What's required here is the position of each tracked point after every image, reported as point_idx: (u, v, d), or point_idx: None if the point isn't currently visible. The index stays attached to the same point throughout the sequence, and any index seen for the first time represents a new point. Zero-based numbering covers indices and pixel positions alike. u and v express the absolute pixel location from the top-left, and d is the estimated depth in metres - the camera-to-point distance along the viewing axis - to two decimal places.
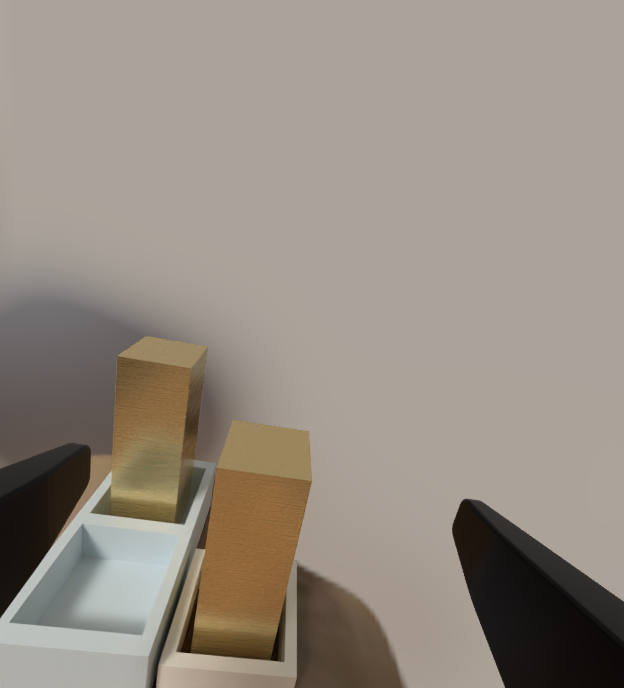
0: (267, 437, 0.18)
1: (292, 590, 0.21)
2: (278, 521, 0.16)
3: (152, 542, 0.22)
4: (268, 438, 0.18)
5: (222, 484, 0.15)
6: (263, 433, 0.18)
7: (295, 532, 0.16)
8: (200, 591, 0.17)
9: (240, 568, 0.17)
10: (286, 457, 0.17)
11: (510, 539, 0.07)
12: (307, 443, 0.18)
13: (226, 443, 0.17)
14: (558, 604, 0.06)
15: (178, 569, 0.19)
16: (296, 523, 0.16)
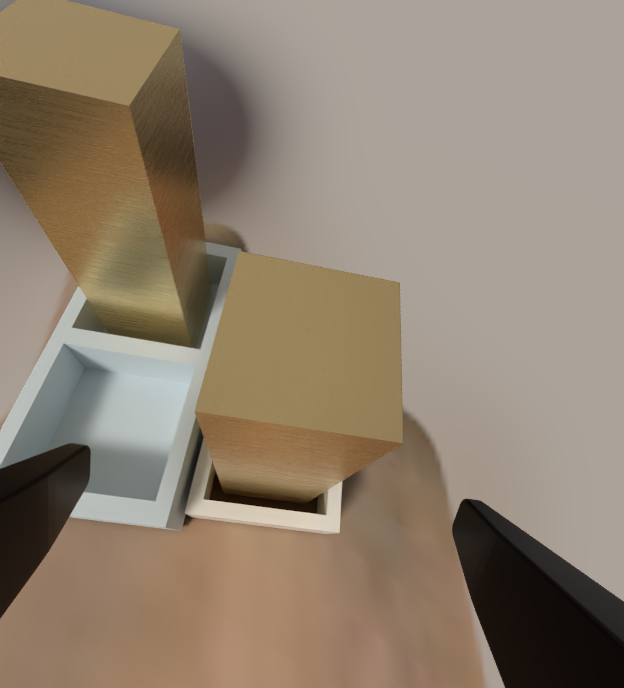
0: (311, 305, 0.08)
1: None
2: (326, 459, 0.09)
3: (162, 366, 0.17)
4: (313, 308, 0.08)
5: (214, 425, 0.07)
6: (303, 292, 0.08)
7: (354, 467, 0.09)
8: (218, 473, 0.12)
9: (268, 471, 0.11)
10: (349, 369, 0.08)
11: (510, 539, 0.07)
12: (396, 320, 0.08)
13: (220, 328, 0.08)
14: (558, 604, 0.06)
15: (195, 414, 0.15)
16: (358, 464, 0.09)
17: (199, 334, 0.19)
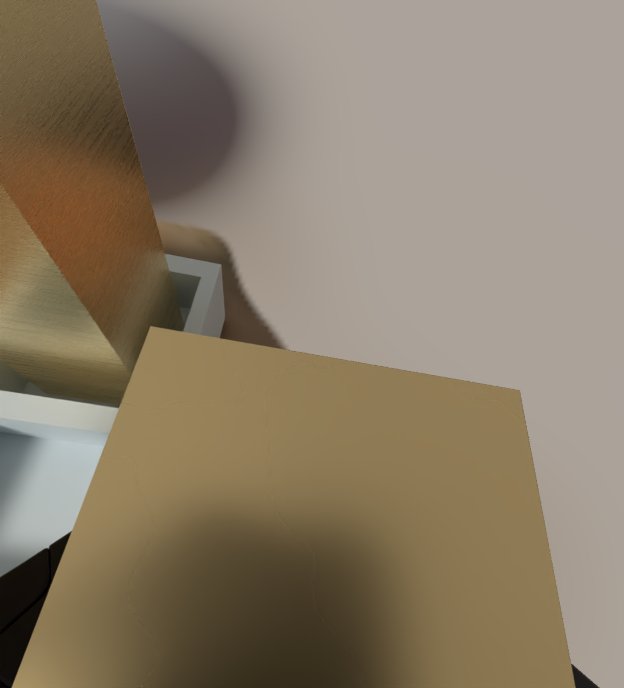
0: (324, 473, 0.03)
1: None
2: None
3: (103, 437, 0.12)
4: (329, 483, 0.03)
5: None
6: (303, 435, 0.03)
7: None
8: None
9: None
10: None
11: None
12: (530, 501, 0.03)
13: (60, 588, 0.03)
14: None
15: None
16: None
17: None
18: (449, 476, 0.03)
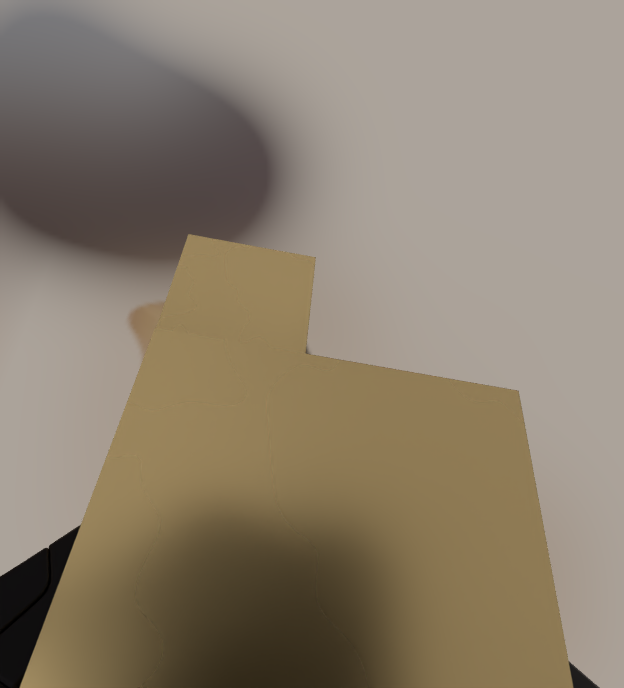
0: (326, 472, 0.03)
1: None
2: None
3: None
4: (331, 482, 0.03)
5: None
6: (305, 434, 0.03)
7: None
8: None
9: None
10: None
11: None
12: (528, 500, 0.04)
13: (68, 584, 0.03)
14: None
15: None
16: None
17: None
18: (449, 475, 0.03)
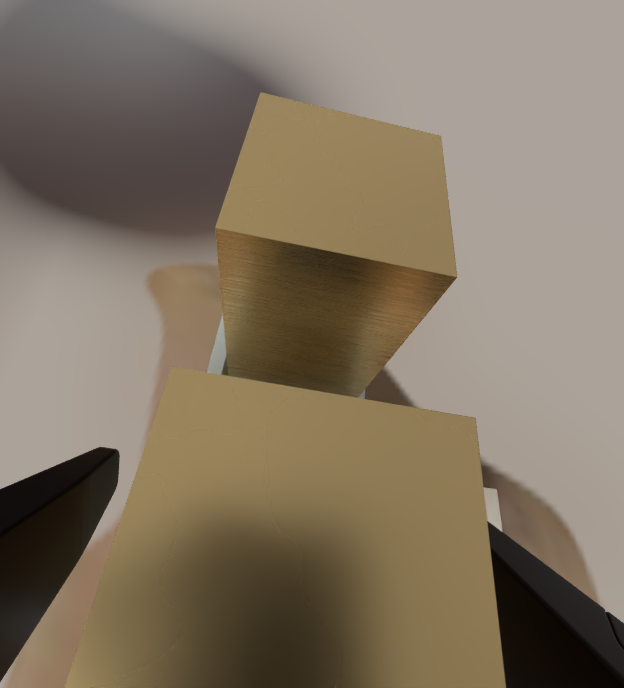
0: (311, 488, 0.04)
1: None
2: None
3: None
4: (315, 495, 0.04)
5: None
6: (295, 456, 0.04)
7: None
8: None
9: None
10: (393, 661, 0.03)
11: None
12: (477, 511, 0.04)
13: (109, 576, 0.03)
14: (523, 600, 0.06)
15: None
16: None
17: None
18: (412, 490, 0.04)
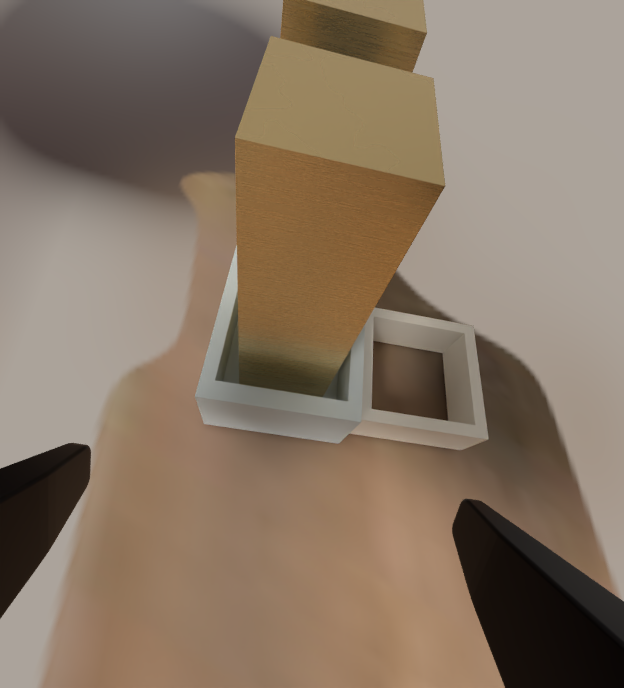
0: (346, 81, 0.08)
1: (473, 357, 0.19)
2: (358, 255, 0.09)
3: None
4: (348, 84, 0.08)
5: (252, 178, 0.07)
6: (337, 72, 0.08)
7: (385, 275, 0.09)
8: (240, 328, 0.12)
9: (292, 310, 0.11)
10: (388, 129, 0.07)
11: (510, 539, 0.07)
12: (431, 103, 0.08)
13: (256, 85, 0.07)
14: (558, 604, 0.06)
15: (363, 335, 0.17)
16: (390, 262, 0.09)
17: None
18: (398, 91, 0.08)
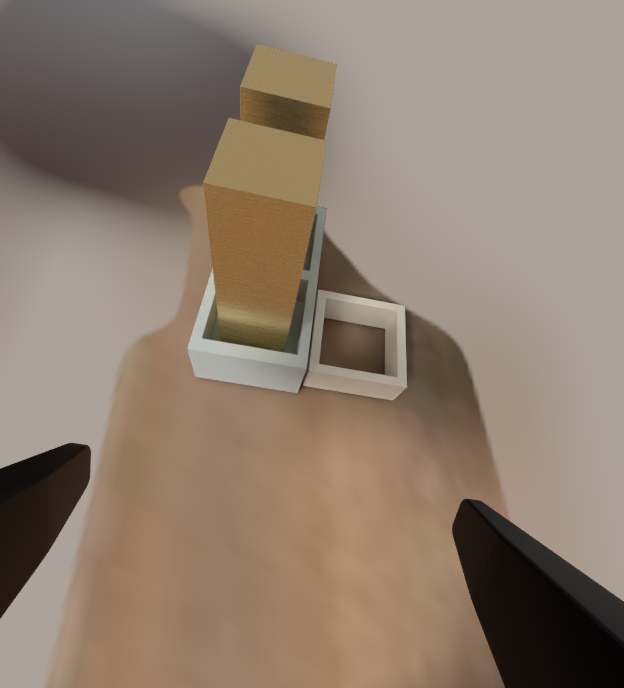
0: (271, 146, 0.14)
1: (402, 329, 0.25)
2: (281, 246, 0.15)
3: None
4: (272, 147, 0.14)
5: (214, 202, 0.13)
6: (266, 140, 0.14)
7: (300, 258, 0.15)
8: (217, 297, 0.18)
9: (249, 283, 0.17)
10: (290, 175, 0.13)
11: (510, 539, 0.07)
12: (321, 157, 0.14)
13: (217, 151, 0.13)
14: (558, 604, 0.06)
15: (313, 309, 0.23)
16: (301, 250, 0.15)
17: None
18: (301, 151, 0.14)
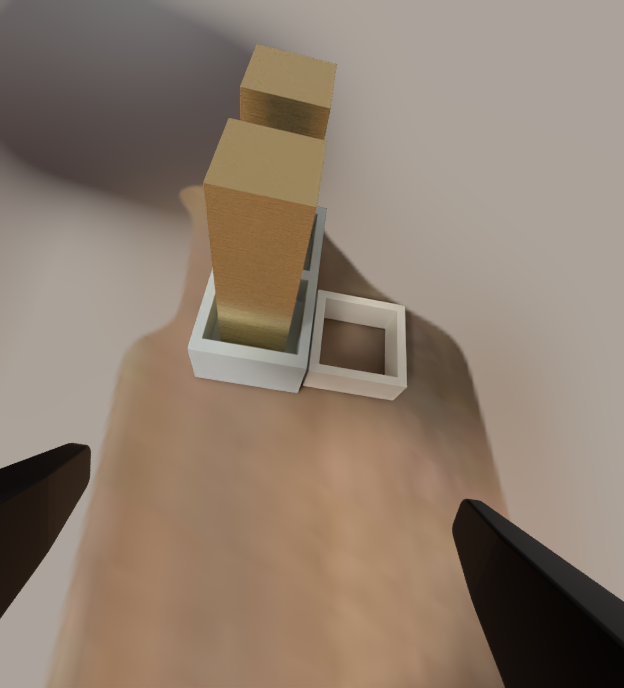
0: (271, 146, 0.14)
1: (401, 329, 0.25)
2: (281, 246, 0.15)
3: None
4: (272, 147, 0.14)
5: (214, 202, 0.13)
6: (266, 140, 0.14)
7: (300, 258, 0.15)
8: (217, 297, 0.18)
9: (249, 284, 0.17)
10: (290, 175, 0.13)
11: (510, 539, 0.07)
12: (321, 157, 0.14)
13: (217, 151, 0.13)
14: (558, 604, 0.06)
15: (313, 309, 0.23)
16: (301, 250, 0.15)
17: None
18: (301, 151, 0.14)
